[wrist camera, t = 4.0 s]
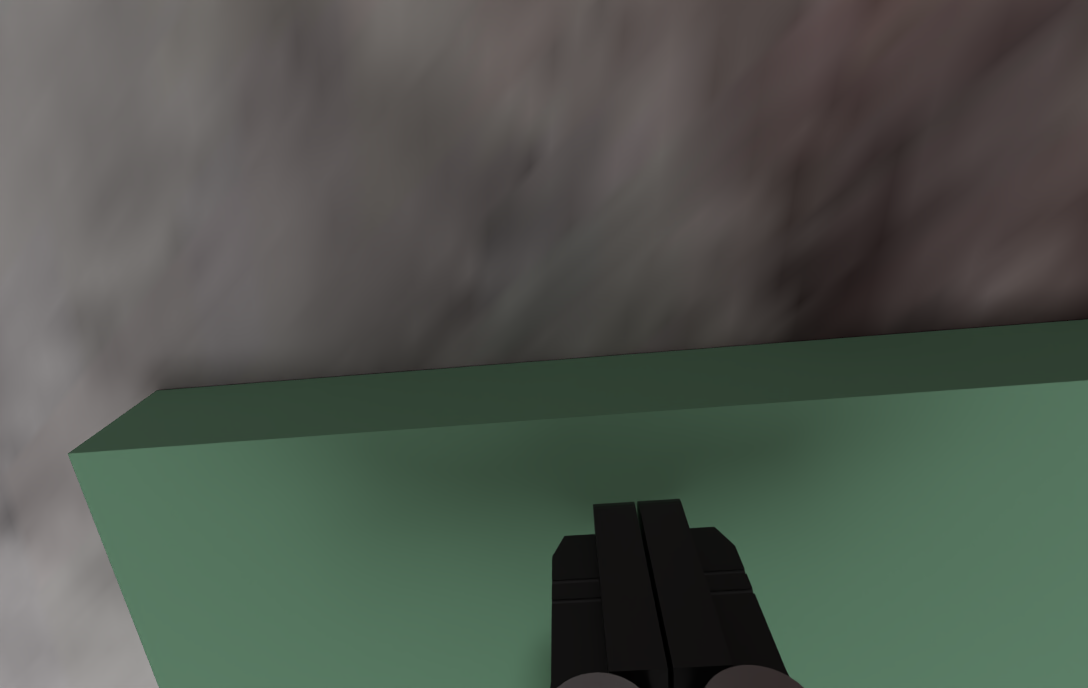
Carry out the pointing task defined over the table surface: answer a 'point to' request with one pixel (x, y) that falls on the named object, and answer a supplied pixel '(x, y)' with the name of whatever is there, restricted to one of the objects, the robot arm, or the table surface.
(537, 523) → the putting mat
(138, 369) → the table surface
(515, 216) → the table surface
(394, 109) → the table surface
